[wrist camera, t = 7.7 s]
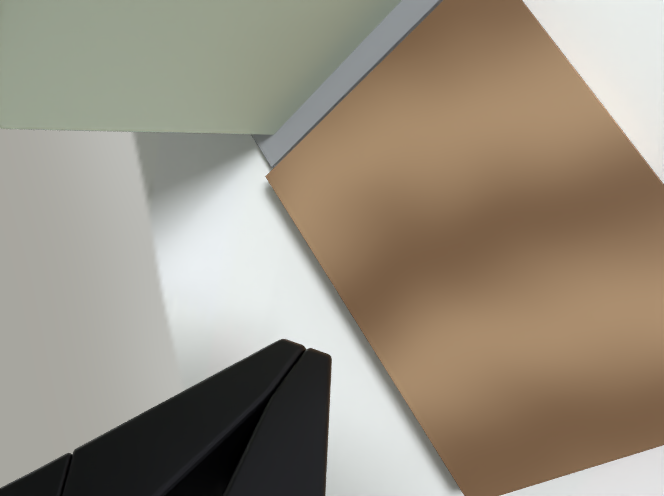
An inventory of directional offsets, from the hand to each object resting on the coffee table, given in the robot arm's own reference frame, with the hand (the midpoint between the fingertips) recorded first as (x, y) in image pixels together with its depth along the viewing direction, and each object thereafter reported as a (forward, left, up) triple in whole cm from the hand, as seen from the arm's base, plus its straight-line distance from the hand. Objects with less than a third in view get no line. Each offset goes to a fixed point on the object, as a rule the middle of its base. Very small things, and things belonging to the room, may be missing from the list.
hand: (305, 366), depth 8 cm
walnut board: (0, 0, -10) cm, 10 cm away
